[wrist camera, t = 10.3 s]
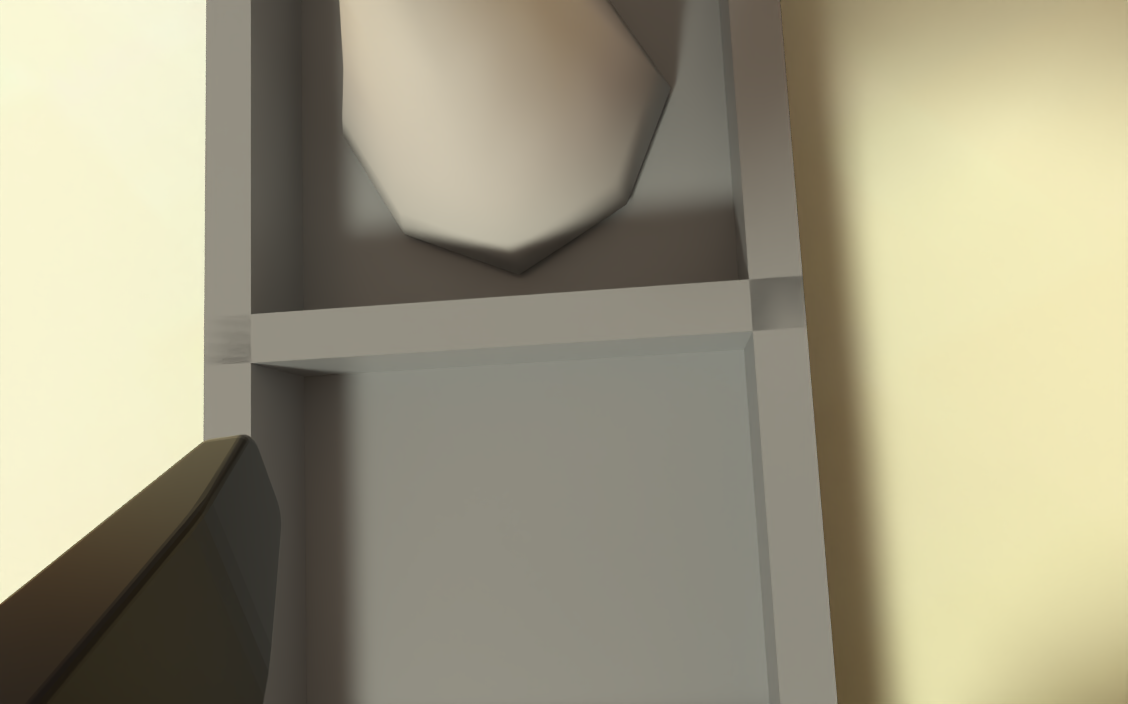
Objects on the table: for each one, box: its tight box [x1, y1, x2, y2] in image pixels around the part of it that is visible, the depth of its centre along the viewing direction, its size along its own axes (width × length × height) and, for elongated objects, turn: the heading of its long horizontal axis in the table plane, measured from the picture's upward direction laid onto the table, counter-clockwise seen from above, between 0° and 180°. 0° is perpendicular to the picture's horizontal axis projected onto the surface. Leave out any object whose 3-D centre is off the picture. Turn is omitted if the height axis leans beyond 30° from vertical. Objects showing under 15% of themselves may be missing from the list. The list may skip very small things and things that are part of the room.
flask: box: [339, 0, 671, 274], centre depth 17 cm, size 7×7×10 cm
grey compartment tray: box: [204, 0, 837, 704], centre depth 20 cm, size 23×12×4 cm, turn 3°
